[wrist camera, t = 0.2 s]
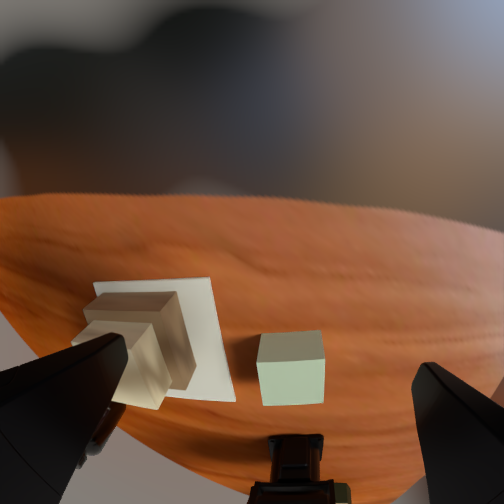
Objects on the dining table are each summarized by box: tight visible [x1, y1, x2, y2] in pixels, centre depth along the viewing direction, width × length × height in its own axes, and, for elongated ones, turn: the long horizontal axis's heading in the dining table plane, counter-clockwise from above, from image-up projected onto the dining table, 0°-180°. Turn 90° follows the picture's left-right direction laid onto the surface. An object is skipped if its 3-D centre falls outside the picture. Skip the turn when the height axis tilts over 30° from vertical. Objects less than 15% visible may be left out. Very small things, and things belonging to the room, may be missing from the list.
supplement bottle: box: [76, 401, 126, 469], centre depth 24 cm, size 7×7×12 cm
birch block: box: [71, 320, 172, 410], centre depth 19 cm, size 6×6×4 cm
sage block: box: [256, 330, 325, 406], centre depth 22 cm, size 5×5×4 cm
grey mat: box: [93, 277, 236, 402], centre depth 25 cm, size 14×12×1 cm
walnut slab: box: [82, 291, 197, 391], centre depth 23 cm, size 8×8×4 cm
